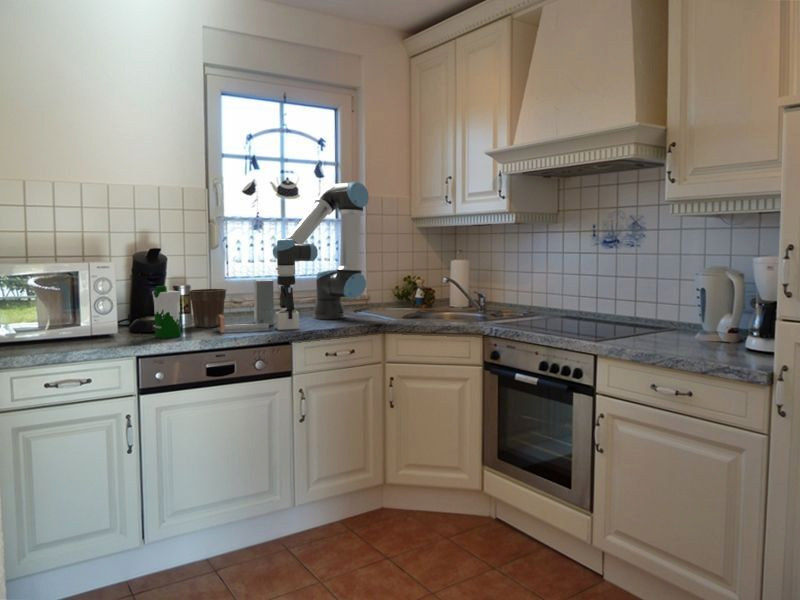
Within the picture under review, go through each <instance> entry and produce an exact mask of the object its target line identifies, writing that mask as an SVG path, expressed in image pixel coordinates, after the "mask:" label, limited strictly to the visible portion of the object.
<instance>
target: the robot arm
mask: <svg viewBox="0 0 800 600" xmlns="http://www.w3.org/2000/svg"><path fill="white" fill-rule="evenodd" d="M369 199H370V197H369V192H368V189H367V188H366V186H365V185H364V184H363V183H361V182H358V181H349V182H340V183H334V184H332V185H330V186H328V187H327V188H326V189H325V190H324V191H322V192H321V193H320V194H319V196H318V197H317V198H316V199H315V200H314V205H313V206H312V207H311V208H310V209H309V211H308V212H307V213H306V214H305V215H304V217H303V218H302V219H301V220H300V222H299V223H298V224H297V225H296V226H295V227H294V228H293V230H291V232H290V233H289V234H288V236H287V237H286V238H283V239H282V238H280V239H278V240H277V241H276V244H275V245H274V246H273V249H272V255H273V257H274V258H275V259H276V263H277V264H276V265H277V267H275V270H276V271H277V276H276V278H277V279H276V280H277V281H276V283H277V285H278V286H280V294H279V295H280V296H279V297H280V298H279V306H280V311H283V310H285V311H286V315H287V327H293V310H295V303H294V294H293V292H294V291H293V290H294V289H293V287H291V286H292V285H296V276H295V275H296V262H313V261H315V260H316V259H317V257H318V255H319V254H318V253H319V250H318V247H317V245H315V244H314V243H305V242H306V241H307V240H308V239H309V238H310V237H311V235H312V234H313V232H314V231H315V230H316V229H317V228H318V227H319V225H320V224H321V223H322V222H323V221H324V219H325V218H326V217H327V216H329V215H331V214H332V213H333V212H334V211H335V210H337V209H338V210H337V211H338V212H339V213H340V215H341V218H340V219H341V220H340V222H341V225H340V251H339V252H340V254H339V258H340V259H339V266H338V267H337V268H336V269H330V270H322V271H321V270H320V271H318V272H317V273H316V280H315V281H316V304H315V307H314V310H313V318H314V319H316V320H338V319H339V318H340V319H344V318H345V310H344V307H343V304H342V299H341V298H345V299H357V298H359V297H361V296H362V294H363V293H364V292H365V290H366V286H367V281H366V278H365V276H364V275H363V274H362V269H361V268H360V266H359V258H360V255H359V251H360V222H361V221H360V219H361V217H360V216H361V214H363V213H364V208H365V207H366V206H367V204H368V203H369Z"/></svg>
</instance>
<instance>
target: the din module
mask: <svg viewBox="0 0 800 600" xmlns="http://www.w3.org/2000/svg"><path fill="white" fill-rule="evenodd" d="M274 314H275V315H274V322H275V323H274V324H275V329H277V331H281V330H282V331H283V330H296V329H297V330H298V329H300V313H299V311H297V310H295V309H294V310H293V327H287V315H286V311H285V310H283V311H281V310H277V311H274Z"/></svg>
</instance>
